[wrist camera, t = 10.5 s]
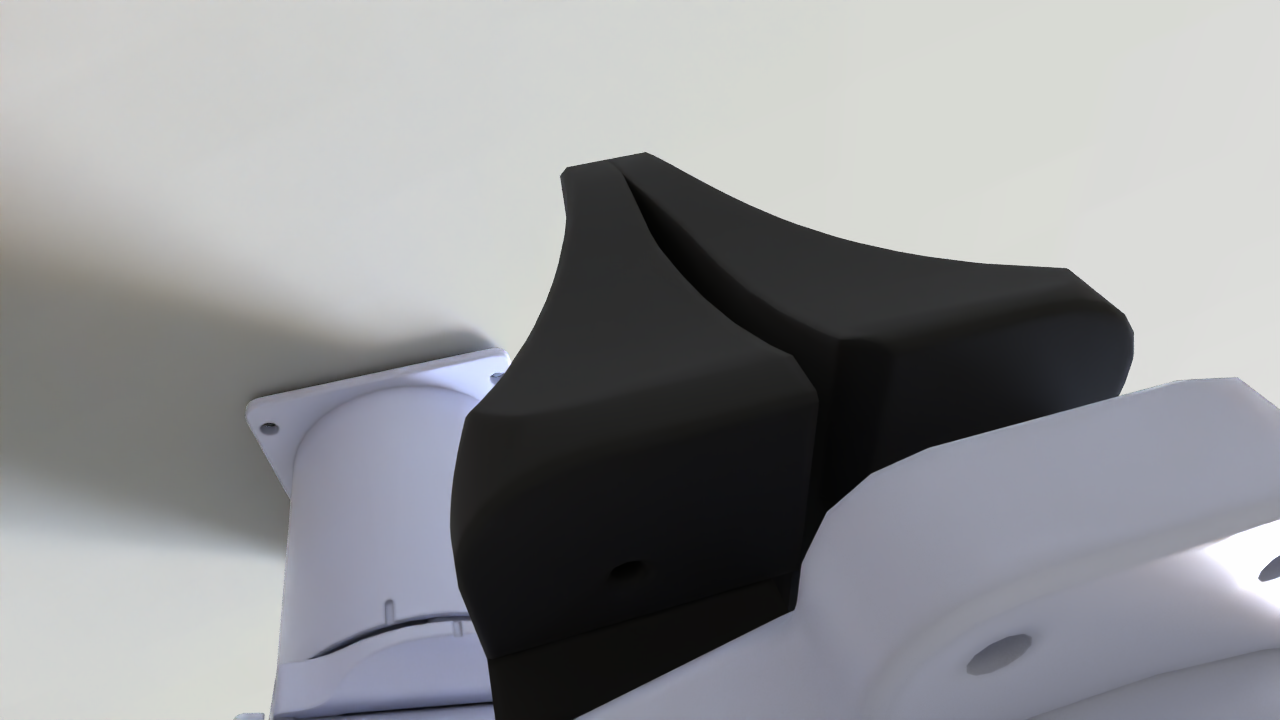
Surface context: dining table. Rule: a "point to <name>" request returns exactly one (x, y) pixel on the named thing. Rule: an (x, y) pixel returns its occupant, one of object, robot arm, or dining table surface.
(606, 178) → the robot arm
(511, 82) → the dining table surface
